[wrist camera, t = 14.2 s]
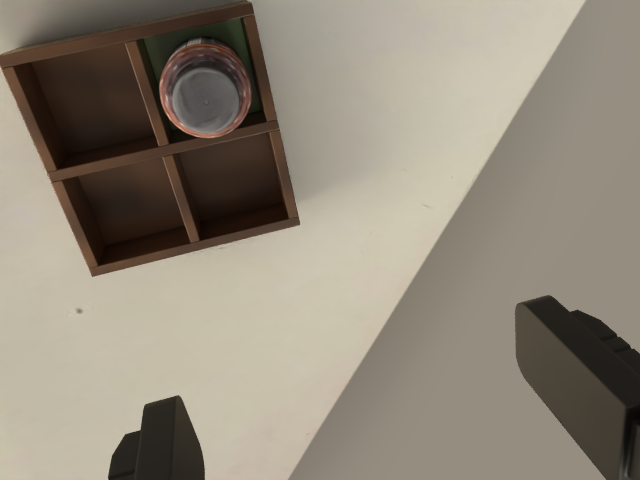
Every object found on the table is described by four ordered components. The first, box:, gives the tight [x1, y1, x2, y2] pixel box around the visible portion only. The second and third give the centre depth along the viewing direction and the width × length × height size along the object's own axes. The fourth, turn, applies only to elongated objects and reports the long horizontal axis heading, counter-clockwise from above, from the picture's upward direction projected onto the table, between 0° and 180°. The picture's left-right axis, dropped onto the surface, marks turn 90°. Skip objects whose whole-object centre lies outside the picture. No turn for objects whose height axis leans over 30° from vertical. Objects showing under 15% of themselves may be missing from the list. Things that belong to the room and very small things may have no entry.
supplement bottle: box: [159, 36, 252, 138], centre depth 38 cm, size 6×6×11 cm
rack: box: [0, 1, 300, 277], centre depth 43 cm, size 17×17×5 cm
